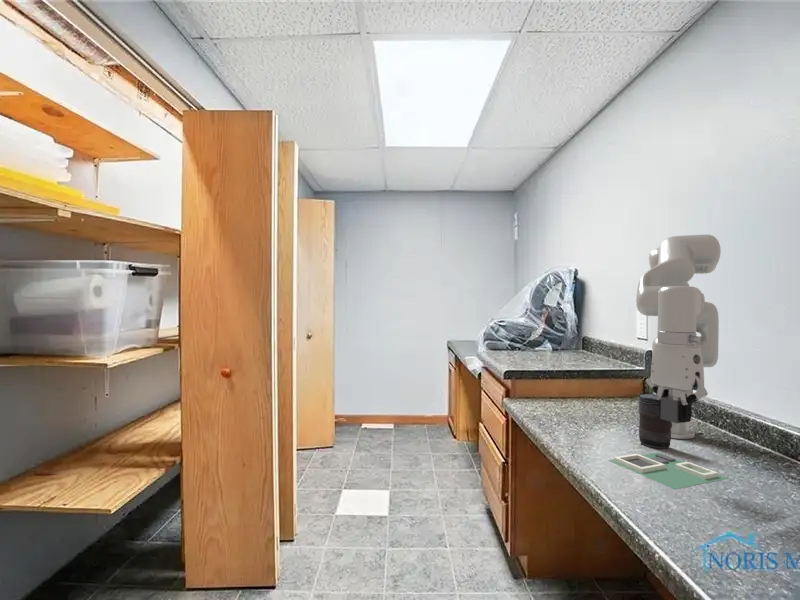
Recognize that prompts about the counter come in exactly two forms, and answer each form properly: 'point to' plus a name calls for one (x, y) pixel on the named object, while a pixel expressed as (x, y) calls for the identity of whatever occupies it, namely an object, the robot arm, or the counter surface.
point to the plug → (670, 408)
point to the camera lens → (653, 424)
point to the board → (667, 470)
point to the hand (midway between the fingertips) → (674, 418)
